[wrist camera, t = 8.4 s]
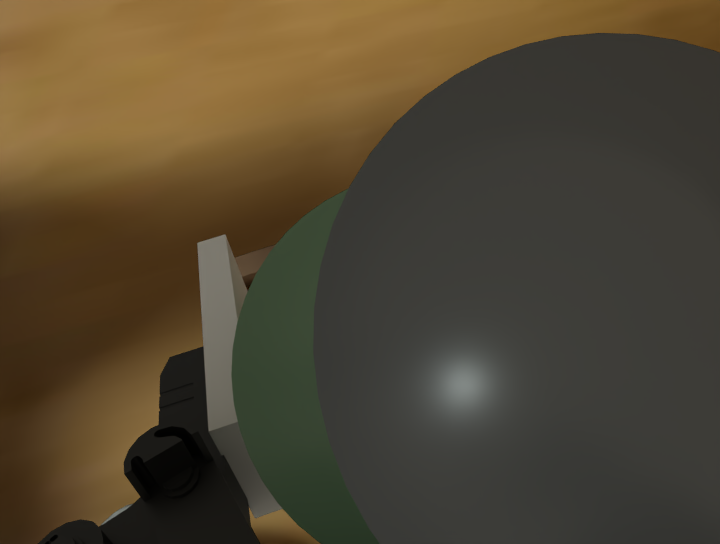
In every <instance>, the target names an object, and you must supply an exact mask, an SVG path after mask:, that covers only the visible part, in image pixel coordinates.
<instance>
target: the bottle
mask: <svg viewBox="0 0 720 544" xmlns="http://www.w3.org/2000/svg"><path fill="white" fill-rule="evenodd" d="M231 378H232V389H233V401H234V407H235V411H236V416H237V420H238V425H239V429H240V432H241V435H242V438H243V441H244V443H245V446H246V449H247V452H248V454H249V457H250V459H251V461H252V462H253V464H254V466H255V468H256V470H257V472H258V474H259V476H260V478H261V480H262V481H263V483H264V484H265V486H266V487H267V488H268V490H269V491H270V493H271V494H272V496H273V497H274V498H275V500H276V501H277V503H278V504H279V505H280V506H281V507H282V508H283V509H284V510H285V512H286V513H287V514H288V515H289V516H290V517H291V518H292V519H293V520H294V521H295V522H296V523H297V524H298V525H299V526H300V527H301V528H302V529H304V530H305V531H306V532H307V533H308V534H310V535H311V536H312V537H313V538H315V539H316V540H317V541H318V542H320V543H321V544H720V53H719V52H716V51H714V50H710V49H707V48H703V47H699V46H696V45H692V44H688V43H685V42H681V41H678V40H672V39H666V38H659V37H652V36H646V35H639V34H614V33H595V34H584V35H572V36H562V37H557V38H553V39H548V40H543V41H539V42H534V43H530V44H525V45H522V46H519V47H517V48H514V49H511V50H508V51H505V52H503V53H500V54H497V55H494V56H492V57H489V58H487V59H485V60H483V61H481V62H479V63H477V64H475V65H473V66H471V67H469V68H467V69H466V70H464V71H462V72H460V73H458V74H456V75H454V76H453V77H451V78H450V79H449V80H447V81H446V82H444V83H443V84H441V85H440V86H438V87H437V88H436V89H434V90H433V91H431V92H430V93H428V94H427V95H426V96H424V97H423V98H422V99H421V100H420V101H419V102H418V103H416V104H415V105H414V106H413V107H412V108H411V109H410V110H409V111H408V112H407V113H406V114H404V115H403V116H402V117H401V118H400V119H399V120H398V121H397V122H396V123H395V124H394V125H393V126H392V128H391V129H390V130H389V131H388V132H387V134H386V135H385V136H384V137H383V138H382V140H381V141H380V142H379V143H378V144H377V146H376V147H375V148H374V149H373V151H372V152H371V153H370V154H369V156H368V158H367V159H366V161H365V163H364V164H363V166H362V167H361V169H360V171H359V172H358V174H357V175H356V177H355V179H354V180H353V182H352V183H351V185H350V187H349V189H347V190H345V191H343V192H341V193H339V194H337V195H335V196H333V197H331V198H330V199H328V200H326V201H324V202H323V203H321V204H320V205H319V206H317V207H316V208H314V209H313V210H311V211H310V212H309V213H307V214H306V215H304V216H303V217H302V218H301V219H300V220H299V221H298V222H297V223H296V224H295V225H294V226H293V227H291V228H290V229H289V230H288V231H287V232H286V233H285V234H284V236H283V237H282V238H281V239H280V240H279V242H278V243H277V244H276V245H275V246H274V248H273V249H272V250H271V251H270V253H269V254H268V256H267V257H266V259H265V260H264V262H263V264H262V265H261V267H260V268H259V270H258V271H257V273H256V275H255V277H254V279H253V281H252V284H251V286H250V288H249V290H248V292H247V294H246V296H245V299H244V302H243V306H242V309H241V312H240V315H239V318H238V321H237V326H236V332H235V338H234V343H233V350H232V372H231Z"/></svg>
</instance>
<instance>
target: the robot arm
mask: <svg viewBox="0 0 720 544" xmlns="http://www.w3.org/2000/svg"><path fill="white" fill-rule="evenodd" d="M197 246H198V263H199V280H200V296H201V313H202V330H203V347H200V348H197V349H194V350H191V351H188V352H185V353H181V354H178V355H175V356H172V357H170V358H169V360H168V362H167V364H166V366H165V367H164V369H163V371H162V373H161V375H160V396H161V397H160V400H159V408H160V411H159V425H158V426H155V427H153V428H151V429H150V430H148V431H147V432H146V433H144V434H143V435H142V436H140V437H139V438H138V439H137V440H136V442H135V443H134V444H133V445H132V446H131V448H130V449H129V451H128V453H127V456H126V458H125V461H124V474H125V476H126V477H127V478H128V480H129V481H130V483H131V484H132V485H133V487H134V488H135V490H136V491H137V492H138V494H139V495H140V498H139V499H138V500H137V501H136V502H135V503H134V504H132V505H131V506H130V507H128V508H127V509H126V510H124V511H123V512H121V513H120V514H118V515H117V516H115V517H113V518H112V519H110V520H109V521H107V522H106V523H104V524H103V525H101V526H100V527H98V526H97V525H96V524H95V523H94V522H92V521H87V520H77V521H72V522H68V523H65V524H64V525H62V526H60V527H58V528H56V529H55V530H53V531H51V532H50V533H49V534H48V535H47V536H46V537H45V538H43V539H42V540H41V541H40V542H39V543H38V544H260V542H259V540H258V538H257V536H256V535H255V533H254V531H253V529H252V527H251V523H250V515H249V508H250V509H251V511H252V513H253V515H254V517H255V518H257V517H260V516H263V515H266V514H269V513H271V512H274V511H277V510H280V509H283V508H282V507H281V506H280V505H279V504H278V503H277V501H276V500H275V498H274V497H273V496H272V494H271V493H270V491H269V490H268V488H267V487H266V486H265V484H264V483H263V481H262V480H261V478H260V476H259V474H258V472H257V470H256V468H255V466H254V464H253V462H252V461H251V459H250V457H249V454H248V452H247V449H246V446H245V443H244V441H243V438H242V435H241V432H240V429H239V425H238V420H237V416H236V411H235V407H234V401H233V389H232V378H231V372H232V350H233V343H234V338H235V332H236V326H237V321H238V318H239V315H240V312H241V309H242V306H243V302H244V299H245V296H246V294H247V292H248V291H247V288H246V286H245V283H244V281H243V278H242V276H241V273H240V271H239V268H238V265H237V263H236V260H235V258H234V255H233V253H232V250H231V247H230V245H229V242H228V240H227V237H226V235H221V236H218V237H215V238H211V239H208V240H205V241H202V242H198V243H197Z"/></svg>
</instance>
